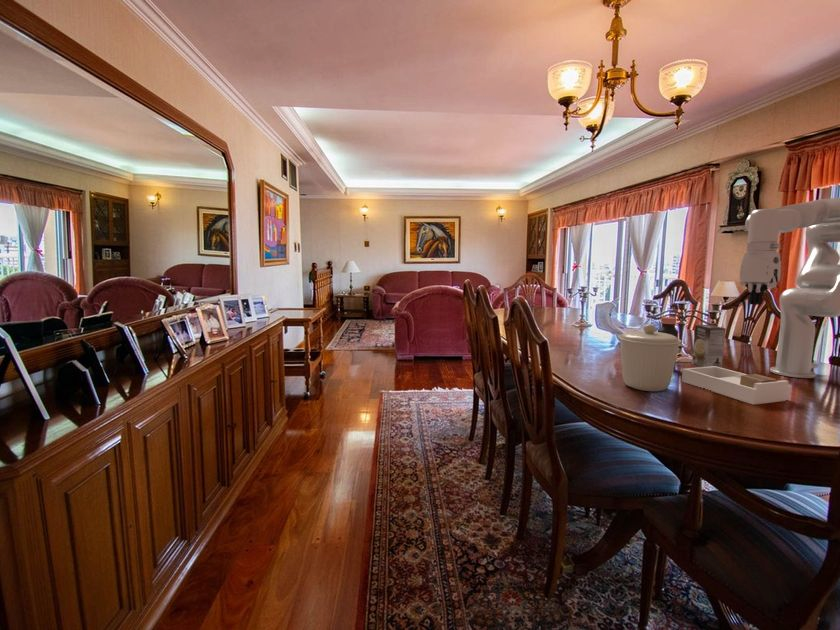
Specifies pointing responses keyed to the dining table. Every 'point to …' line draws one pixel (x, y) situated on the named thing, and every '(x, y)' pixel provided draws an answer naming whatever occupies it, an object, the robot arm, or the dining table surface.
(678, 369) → the dining table surface
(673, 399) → the dining table surface
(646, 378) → the canister
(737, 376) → the box
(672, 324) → the bottle
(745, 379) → the walnut block
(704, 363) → the coffee box
